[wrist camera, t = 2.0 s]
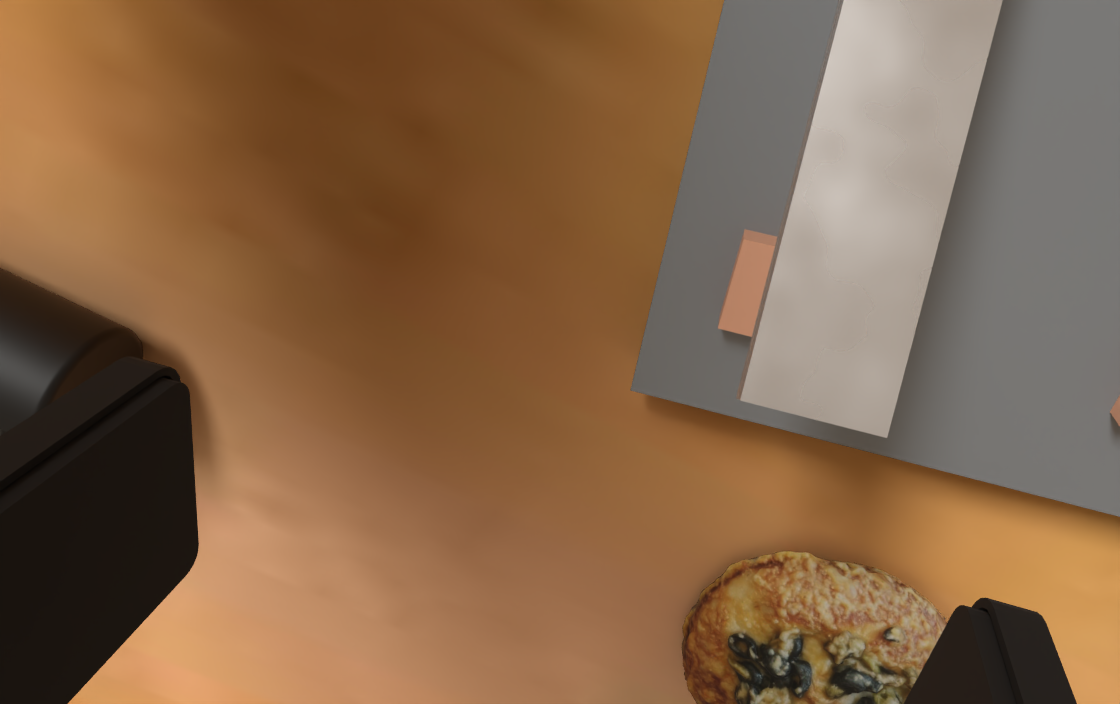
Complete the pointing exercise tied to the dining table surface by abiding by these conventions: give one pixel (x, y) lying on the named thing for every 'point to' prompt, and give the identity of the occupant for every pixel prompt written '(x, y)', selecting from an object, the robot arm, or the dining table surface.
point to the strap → (867, 208)
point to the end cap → (50, 347)
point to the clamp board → (960, 262)
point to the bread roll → (807, 634)
